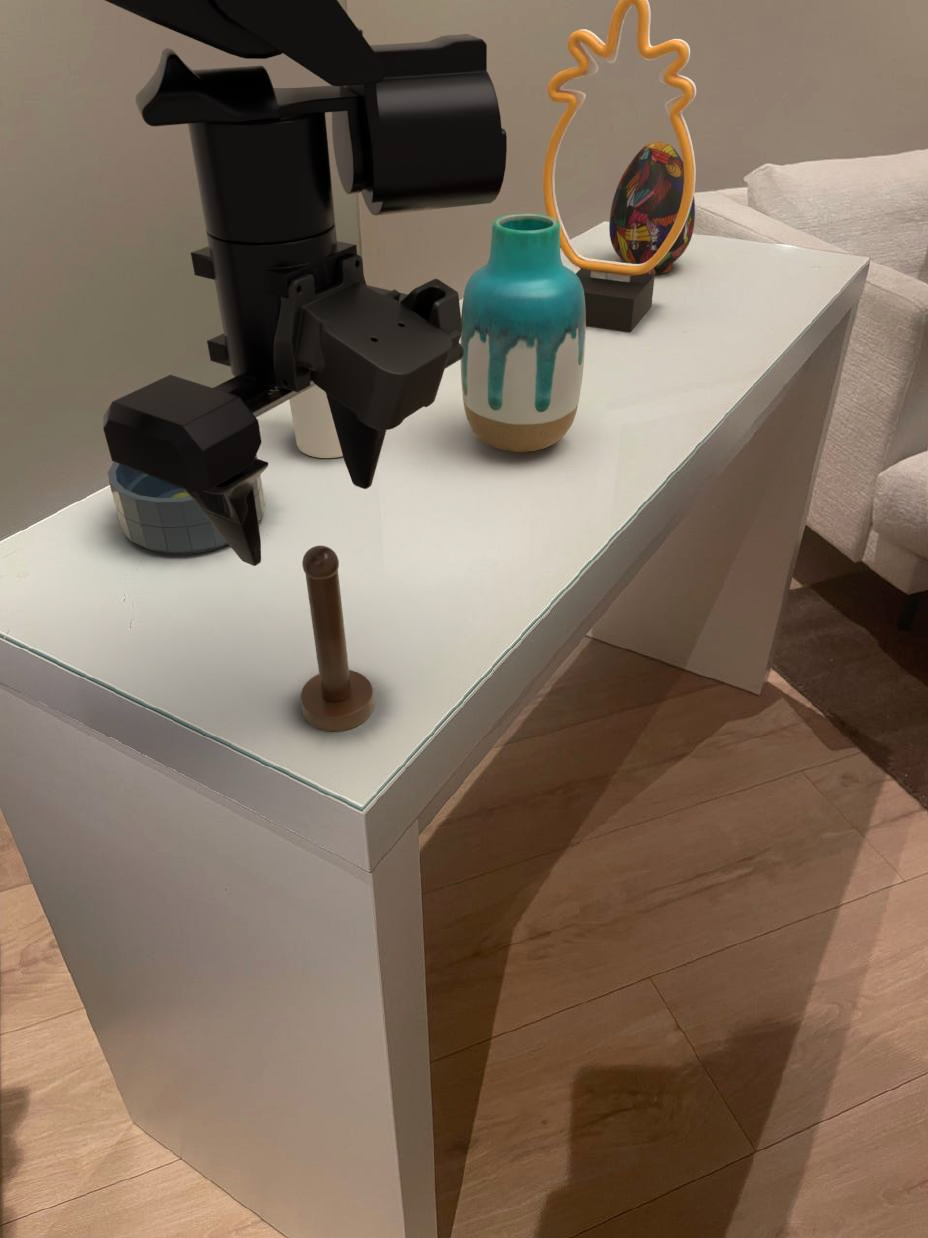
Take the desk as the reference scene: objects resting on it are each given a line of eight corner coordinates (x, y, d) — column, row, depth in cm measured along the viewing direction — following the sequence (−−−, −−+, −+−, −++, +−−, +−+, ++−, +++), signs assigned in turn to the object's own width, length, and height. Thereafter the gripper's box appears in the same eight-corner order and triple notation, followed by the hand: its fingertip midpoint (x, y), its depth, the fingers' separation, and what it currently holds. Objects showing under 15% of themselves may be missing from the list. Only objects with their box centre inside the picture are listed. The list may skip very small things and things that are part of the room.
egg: (705, 269, 124) (723, 143, 115) (647, 286, 119) (661, 156, 110) (646, 249, 131) (659, 129, 121) (589, 265, 126) (597, 140, 116)
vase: (460, 416, 91) (457, 204, 79) (571, 414, 91) (585, 202, 79) (462, 471, 82) (460, 243, 71) (584, 469, 82) (602, 240, 71)
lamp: (525, 316, 111) (534, -7, 92) (550, 292, 118) (564, -15, 98) (665, 337, 106) (707, -2, 86) (684, 310, 112) (727, -10, 93)
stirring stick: (288, 708, 59) (261, 550, 52) (341, 673, 62) (322, 518, 54) (335, 742, 57) (314, 581, 49) (388, 704, 59) (375, 546, 52)
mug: (383, 443, 87) (374, 313, 79) (323, 468, 83) (307, 334, 76) (318, 408, 92) (304, 284, 85) (259, 430, 89) (239, 302, 82)
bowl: (93, 530, 75) (76, 475, 72) (197, 472, 83) (186, 419, 80) (193, 574, 70) (180, 517, 67) (294, 508, 78) (286, 453, 75)
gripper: (259, 327, 33) (310, 668, 42) (532, 202, 45) (523, 489, 55) (52, 272, 38) (139, 589, 47) (349, 172, 50) (370, 440, 60)
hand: (310, 522), depth 52 cm, fingers open, 9 cm apart
